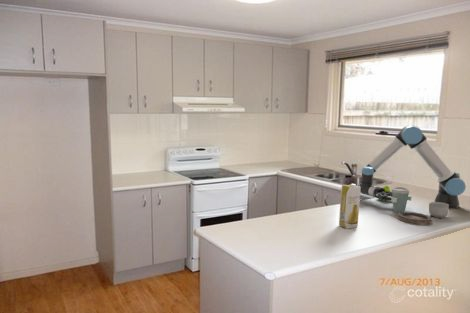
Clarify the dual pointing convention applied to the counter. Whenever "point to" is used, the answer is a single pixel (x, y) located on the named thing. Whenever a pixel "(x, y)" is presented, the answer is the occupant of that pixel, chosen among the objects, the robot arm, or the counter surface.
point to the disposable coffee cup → (400, 198)
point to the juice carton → (349, 206)
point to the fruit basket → (386, 190)
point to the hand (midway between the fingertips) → (403, 199)
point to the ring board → (414, 218)
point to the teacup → (438, 209)
